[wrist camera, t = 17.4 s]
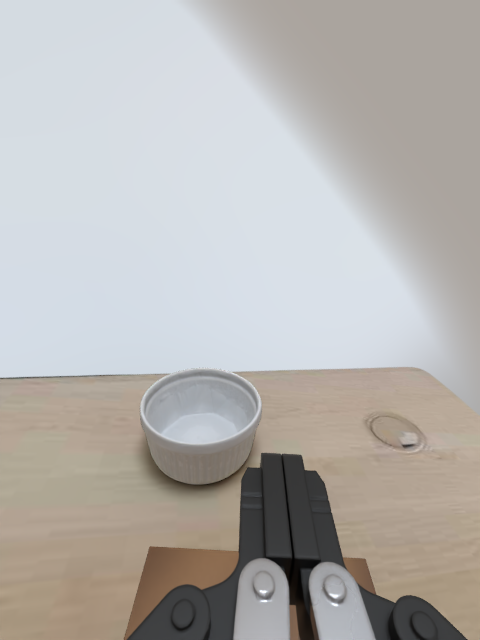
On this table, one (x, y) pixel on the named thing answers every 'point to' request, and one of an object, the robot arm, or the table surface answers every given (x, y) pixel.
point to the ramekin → (200, 423)
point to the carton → (204, 578)
